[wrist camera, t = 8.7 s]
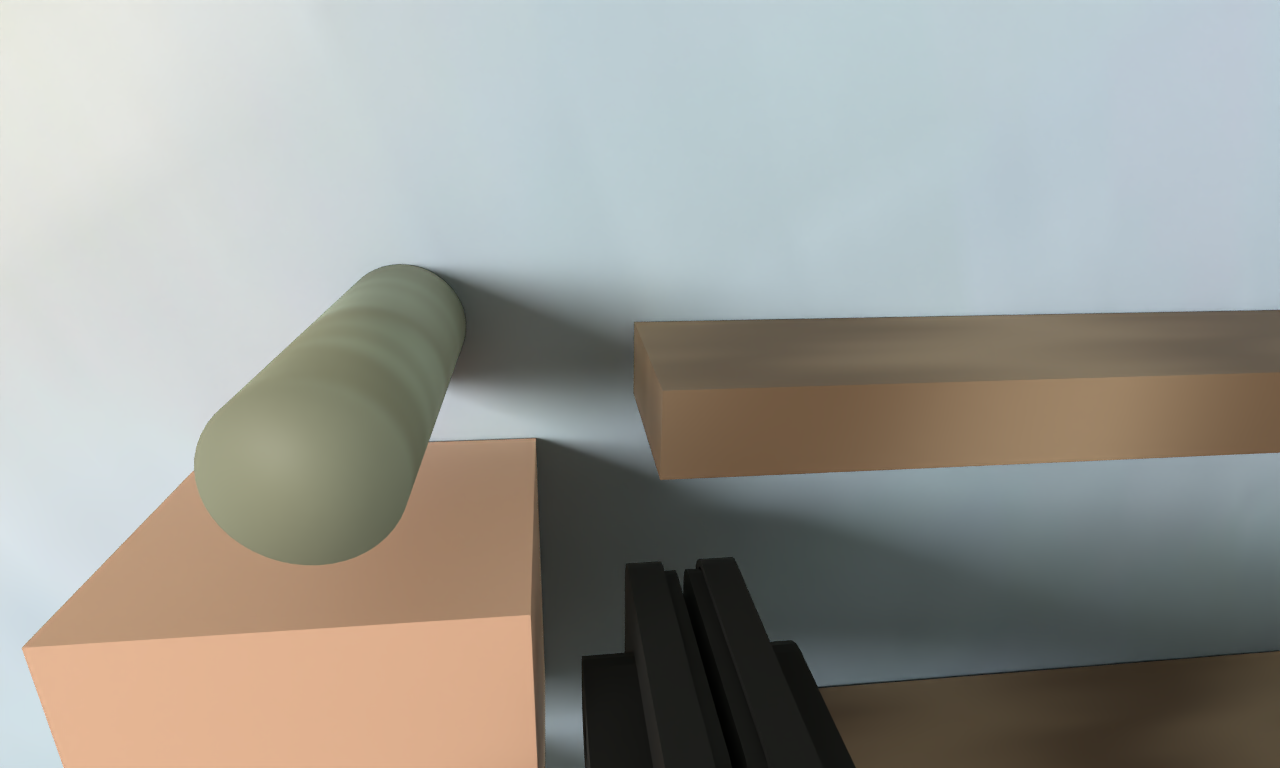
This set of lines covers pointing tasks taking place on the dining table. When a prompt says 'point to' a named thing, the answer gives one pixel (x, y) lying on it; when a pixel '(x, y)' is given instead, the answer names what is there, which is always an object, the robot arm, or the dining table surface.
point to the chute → (812, 443)
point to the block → (314, 638)
